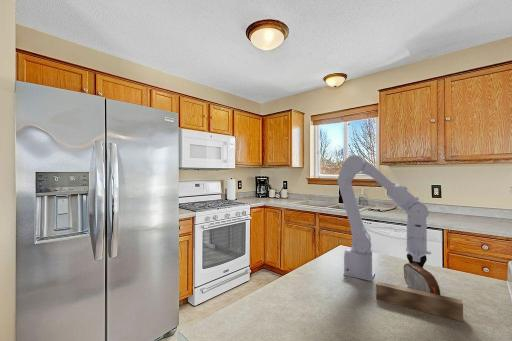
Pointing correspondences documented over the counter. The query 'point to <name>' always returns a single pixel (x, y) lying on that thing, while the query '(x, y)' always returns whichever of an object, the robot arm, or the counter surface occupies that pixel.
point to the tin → (420, 279)
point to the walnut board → (420, 300)
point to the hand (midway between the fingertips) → (416, 276)
